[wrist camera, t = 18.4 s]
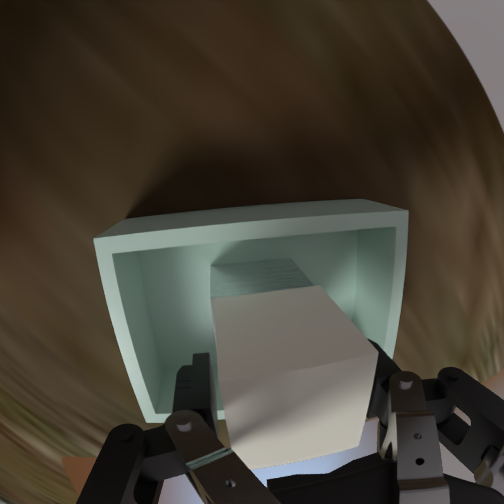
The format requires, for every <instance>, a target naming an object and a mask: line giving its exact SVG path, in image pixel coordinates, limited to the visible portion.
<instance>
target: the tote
mask: <svg viewBox="0 0 504 504" xmlns="http://www.w3.org/2000/svg"><path fill="white" fill-rule="evenodd" d="M408 217H409V211H408V210H405V209H401V208H397V207H393V206H390V205H386V204H382V203H378V202H374V201H370V200H366V199H344V200H325V201H308V202H293V203H278V204H265V205H253V206H241V207H229V208H219V209H208V210H198V211H189V212H179V213H170V214H162V215H153V216H145V217H137V218H129V219H124V220H122V221H121V222H119V223H117V224H116V225H114V226H113V227H111V228H109V229H108V230H106V231H105V232H103V233H101V234H100V235H98V236H97V237H95V238H94V244H95V250H96V255H97V260H98V265H99V270H100V275H101V279H102V284H103V288H104V293H105V297H106V301H107V305H108V309H109V313H110V316H111V320H112V324H113V327H114V331H115V334H116V338H117V341H118V344H119V348H120V351H121V354H122V357H123V360H124V363H125V366H126V369H127V372H128V375H129V378H130V381H131V384H132V387H133V389H134V392H135V395H136V397H137V400H138V403H139V405H140V408H141V410H142V413H143V415H144V418H145V420H146V422H147V423H161V422H165V420H166V419H167V417H168V416H169V415H171V414H172V409H173V400H174V391H175V383H176V375H177V372H178V371H179V369H180V368H181V367H182V365H192V359H193V353H205V352H210V356H211V362H212V368H213V374H214V379H215V386H216V400H217V416H218V419H225V414H224V409H223V403H222V398H221V393H220V387H219V382H218V367H217V349H216V341H215V333H214V325H213V317H212V309H211V300H210V265H217V264H229V263H240V262H251V261H262V260H273V259H284V258H291V259H292V260H293V261H294V262H295V264H296V265H297V266H298V267H299V268H300V269H301V271H302V272H303V273H304V274H305V275H306V276H307V278H308V279H309V280H310V281H311V282H312V283H313V285H314V286H316V285H320V286H321V287H322V288H323V290H324V291H325V292H326V293H327V294H328V295H329V296H330V297H331V299H332V300H333V301H334V302H335V303H336V304H337V305H338V306H339V308H340V309H341V310H342V311H343V312H344V313H345V314H346V315H347V317H348V318H349V319H350V320H351V321H352V322H353V323H354V325H355V326H356V327H357V328H358V329H359V330H360V331H361V333H362V334H363V335H364V336H365V337H366V338H367V339H370V340H372V341H374V342H376V343H378V345H379V346H380V347H381V348H382V349H383V351H385V352H386V353H387V356H389V357H390V358H391V359H392V358H393V353H394V347H395V342H396V336H397V330H398V324H399V317H400V311H401V303H402V295H403V287H404V277H405V267H406V255H407V240H408Z"/></svg>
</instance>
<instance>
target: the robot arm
mask: <svg viewBox="0 0 504 504" xmlns="http://www.w3.org/2000/svg"><path fill="white" fill-rule="evenodd" d="M368 341H369V342H370V343H371V344H372V345H373V346H374V347H375V349H376V350H377V351H378V352H379V353H378V359H377V365H376V370H375V376H374V381H373V386H372V391H371V396H370V401H369V405H368V410H367V414H366V416H367V417H368V419H369V418H373V417H376V416H378V418H379V422H378V430H377V431H378V432H377V435H378V436H377V453H374V454H371V455H368V456H365V457H362V458H359V459H356V460H353V461H351V462H349V463H348V464H345V465H343V466H342V467H340V468H338V469H336V470H334V471H332V472H330V473H326V474H296V475H291V476H285V477H280V478H274V479H267V487H265V486H264V485H263V484H262V483H261V481H260V480H259V479H258V478H257V477H256V476H255V475H254V474H253V473H252V471H251V470H250V469H249V468H248V467H247V466H246V465H245V463H244V462H243V461H242V460H241V459H240V458H239V456H238V455H237V454H236V453H235V452H234V451H233V450H232V449H231V448H229V449H226V448H225V447H224V446H223V444H222V443H221V442H220V441H219V431H218V416H217V400H216V386H215V379H214V374H213V368H212V362H211V356H210V352H205V353H193V359H192V365H182V367H181V368H180V369H179V371H178V372H177V375H176V383H175V391H174V400H173V409H172V414H171V415H169V416H168V417H167V419H166V420H165V424H163V425H162V426H159V427H157V428H153V429H149V430H145V431H143V430H142V429H141V428H140V427H139V426H137V425H134V424H122V425H119V426H117V427H115V428H113V429H112V430H111V431H110V433H109V435H108V437H107V439H106V441H105V443H104V445H103V447H102V449H101V451H100V453H99V455H98V457H97V459H96V461H95V464H94V466H93V468H92V470H91V472H90V474H89V476H88V479H87V481H86V483H85V485H84V487H83V489H82V492H81V494H80V496H79V498H78V501H77V503H76V504H158V501H159V497H160V494H161V489H162V486H163V482H164V479H168V478H172V477H175V476H179V475H182V474H185V475H186V476H187V478H188V480H189V481H190V483H191V484H192V486H193V488H194V489H195V490H196V492H197V494H198V495H199V497H200V498H201V500H202V501H203V503H204V504H504V400H503V399H501V398H500V397H499V396H497V395H496V394H494V393H493V392H492V391H490V390H489V389H488V388H486V387H485V386H483V385H482V384H481V383H479V382H478V381H476V380H475V379H474V378H472V377H471V376H469V375H468V374H466V373H465V372H464V371H462V370H461V369H458V368H455V367H446V368H443V369H442V370H440V371H439V373H438V376H437V378H435V379H424V380H421V379H420V377H419V376H418V375H417V374H415V373H413V372H409V371H402V370H401V369H400V368H399V367H398V366H397V365H396V364H395V362H394V361H393V360H392V359H391V358H390V357H389V356H387V353H386V352H385V351H383V349H382V348H381V347H380V346H379V345H378V343H376V342H374V341H372V340H370V339H368ZM456 407H457V408H459V409H460V410H461V411H463V412H464V413H465V414H466V415H467V416H468V417H469V418H470V420H471V426H469V425H468V424H467V423H466V422H465V421H463V420H462V419H461V418H460V417H459V416H457V415H456V414H455V413H454V410H455V408H456ZM439 442H441V443H442V444H443V445H444V446H445V447H446V448H447V449H448V450H449V451H450V452H451V453H452V454H453V455H454V456H455V457H456V458H457V459H458V460H459V461H460V462H461V463H463V464H464V465H465V466H466V467H467V468H468V469H469V470H470V471H471V472H472V473H473V474H474V478H475V481H476V482H475V483H473V482H469V481H466V480H462V479H459V478H456V477H453V476H450V475H447V474H444V473H443V468H442V460H441V452H440V445H439Z"/></svg>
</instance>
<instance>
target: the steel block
mask: <svg viewBox="0 0 504 504" xmlns="http://www.w3.org/2000/svg"><path fill="white" fill-rule="evenodd" d="M309 286H314V285H313V283H312V282H311V281H310V280H309V279H308V278H307V276H306V275H305V274H304V273H303V272H302V271H301V269H300V268H299V267H298V266H297V265H296V264H295V262H294V261H293V260H292V259H291V258H284V259H273V260H262V261H251V262H240V263H229V264H217V265H210V300H211V309H212V317H213V325H214V333H215V341H216V329H215V306H214V298H219V297H228V296H237V295H246V294H254V293H263V292H271V291H279V290H286V289H294V288H301V287H309Z"/></svg>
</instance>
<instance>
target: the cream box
mask: <svg viewBox="0 0 504 504" xmlns="http://www.w3.org/2000/svg"><path fill="white" fill-rule="evenodd" d="M214 306H215V329H216V349H217V367H218V382H219V387H220V393H221V398H222V403H223V409H224V414H225V419H226V424H227V429H228V434H229V438H230V443H231V448H232V450H233V451H234V452H235V453H236V454H237V455H238V456H239V458H240V459H241V460H242V461H243V462H244V463H245V465H246V466H247V467H248V468H249V469H250V470H251V469H258V468H266V467H272V466H277V465H284V464H288V463H294V462H299V461H304V460H308V459H313V458H317V457H321V456H325V455H329V454H333V453H337V452H341V451H344V450H348V449H351V448H354V447H357V446H359V442H360V438H361V435H362V431H363V427H364V423H365V419H366V414H367V410H368V405H369V401H370V396H371V391H372V386H373V381H374V376H375V370H376V365H377V359H378V353H379V352H378V351H377V350H376V349H375V347H374V346H373V345H372V344H371V343H370V342H369V341H368V339H367V338H366V337H365V336H364V335H363V334H362V333H361V331H360V330H359V329H358V328H357V327H356V326H355V325H354V323H353V322H352V321H351V320H350V319H349V318H348V317H347V315H346V314H345V313H344V312H343V311H342V310H341V309H340V308H339V306H338V305H337V304H336V303H335V302H334V301H333V300H332V299H331V297H330V296H329V295H328V294H327V293H326V292H325V291H324V290H323V288H322V287H321V286H320V285H316V286H309V287H301V288H294V289H286V290H279V291H271V292H263V293H254V294H246V295H237V296H228V297H219V298H214Z"/></svg>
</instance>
